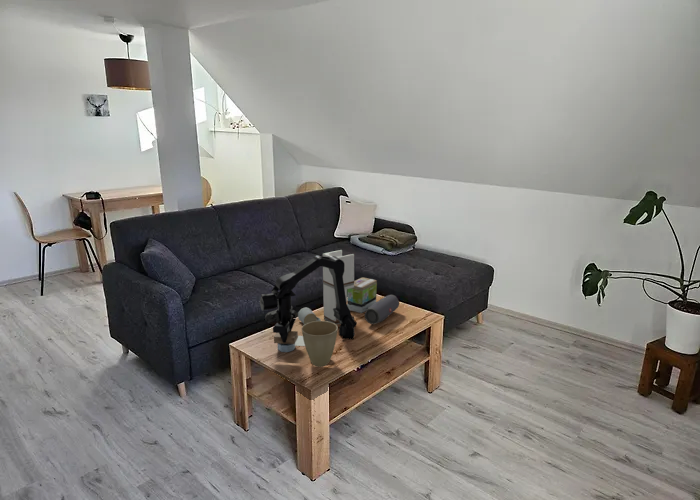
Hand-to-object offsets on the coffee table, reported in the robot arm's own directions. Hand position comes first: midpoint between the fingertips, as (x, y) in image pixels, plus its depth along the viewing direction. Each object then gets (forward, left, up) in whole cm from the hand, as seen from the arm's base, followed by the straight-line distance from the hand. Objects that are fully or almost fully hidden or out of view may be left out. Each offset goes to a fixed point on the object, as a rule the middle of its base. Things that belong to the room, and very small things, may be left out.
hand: (286, 339), depth 207 cm
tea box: (-28, -54, -6) cm, 61 cm away
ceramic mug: (-4, -30, -6) cm, 31 cm away
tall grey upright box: (-18, -36, -6) cm, 41 cm away
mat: (-3, -8, -5) cm, 10 cm away
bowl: (0, 0, -5) cm, 5 cm away
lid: (0, 0, -1) cm, 1 cm away
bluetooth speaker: (-40, -40, -6) cm, 57 cm away
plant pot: (-17, +9, -6) cm, 20 cm away
